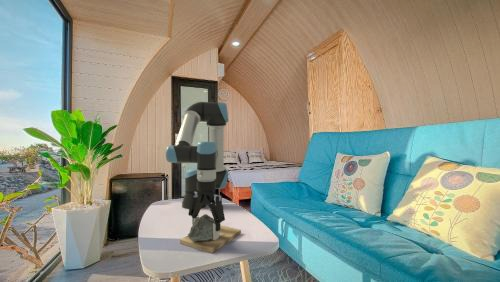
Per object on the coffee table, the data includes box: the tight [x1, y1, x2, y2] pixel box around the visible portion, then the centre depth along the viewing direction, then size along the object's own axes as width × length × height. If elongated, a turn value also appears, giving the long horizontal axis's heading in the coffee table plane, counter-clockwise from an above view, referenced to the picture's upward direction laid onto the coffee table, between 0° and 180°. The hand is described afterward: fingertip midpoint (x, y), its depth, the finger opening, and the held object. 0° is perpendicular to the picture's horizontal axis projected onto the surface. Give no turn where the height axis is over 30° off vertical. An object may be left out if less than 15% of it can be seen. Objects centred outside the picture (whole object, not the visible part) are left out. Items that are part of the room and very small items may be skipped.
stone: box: [187, 213, 215, 241], centre depth 87 cm, size 10×10×10 cm
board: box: [179, 224, 242, 254], centre depth 91 cm, size 20×16×2 cm
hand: (205, 236), depth 87 cm, fingers closed on stone, 9 cm apart
